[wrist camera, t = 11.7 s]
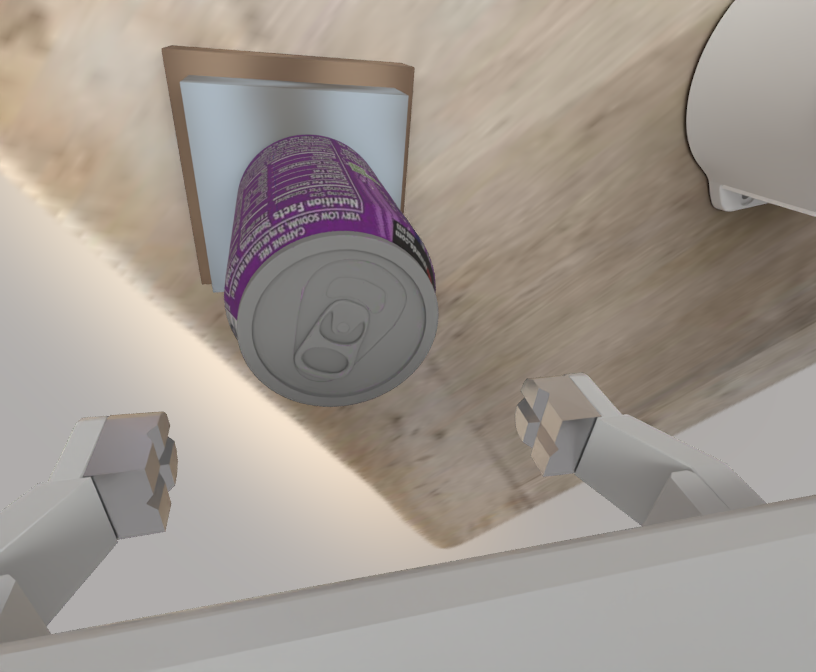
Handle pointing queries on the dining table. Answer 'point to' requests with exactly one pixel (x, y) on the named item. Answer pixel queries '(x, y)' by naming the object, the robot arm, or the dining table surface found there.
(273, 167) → the beverage can
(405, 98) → the stepped plinth
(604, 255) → the dining table surface
